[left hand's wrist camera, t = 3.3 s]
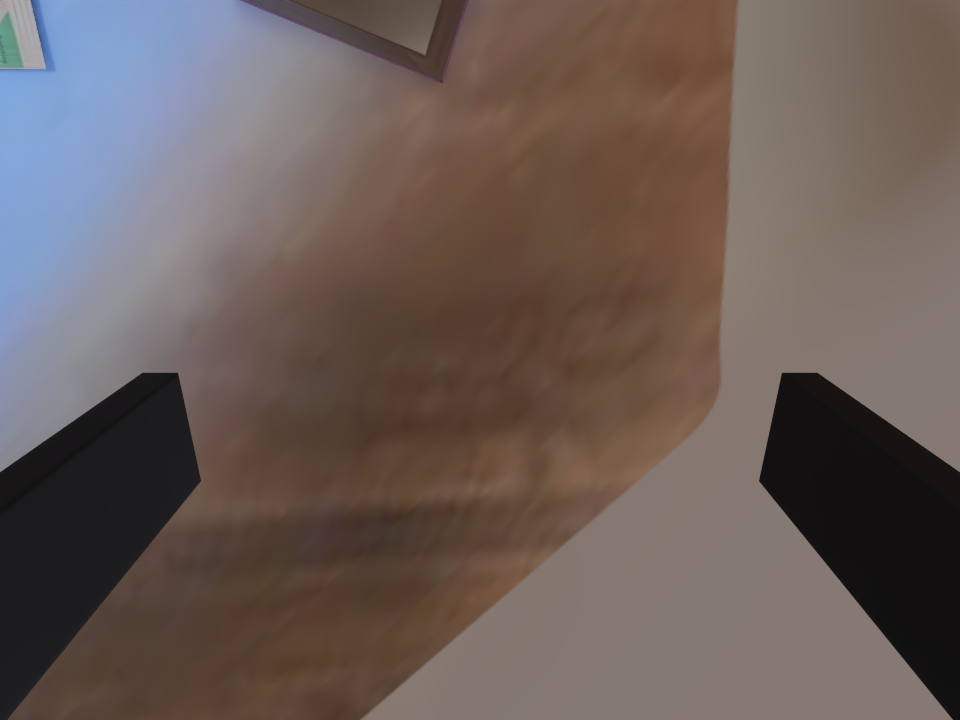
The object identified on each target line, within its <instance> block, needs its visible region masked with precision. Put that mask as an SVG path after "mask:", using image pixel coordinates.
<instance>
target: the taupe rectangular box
mask: <svg viewBox="0 0 960 720" xmlns="http://www.w3.org/2000/svg"><path fill="white" fill-rule="evenodd" d="M241 1H243V2H246V3H248V4H251V5H253V6H256V7H258V8H260V9H263V10H265V11H268V12H270V13H273V14H275V15H277V16H280V17H282V18H285V19H287V20H290V21H292V22H295V23H297V24H299V25H302V26H304V27H307V28H309V29H312V30H314V31H316V32H319V33H321V34H324V35H326V36H329V37H331V38H333V39H336V40H338V41H341V42H343V43H346V44H348V45H351V46H353V47H355V48H358V49H360V50H363V51H365V52H368V53H370V54H372V55H375V56H377V57H380V58H382V59H385V60H387V61H389V62H392V63H394V64H397V65H399V66H402V67H404V68H406V69H409V70H411V71H414V72H416V73H419V74H421V75H424V76H426V77H428V78H431V79H433V80H436V81H438V82H441V83H442V82H443V78H444V75H445V72H446V69H447V66H448V62H449V59H450V56H451V53H452V50H453V47H454V43H455V40H456V37H457V34H458V31H459V27H460V24H461V21H462V18H463V15H464V12H465V8H466V5H467V2H468V0H241Z"/></svg>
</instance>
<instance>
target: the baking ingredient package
mask: <svg viewBox="0 0 960 720" xmlns="http://www.w3.org/2000/svg"><path fill="white" fill-rule="evenodd" d="M0 69H46V65H45V61H44V57H43V53H42V49H41V43H40V39H39V34H38V30H37V26H36V21H35V17H34V13H33V8H32V4H31V0H0Z"/></svg>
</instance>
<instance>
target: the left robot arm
mask: <svg viewBox="0 0 960 720" xmlns="http://www.w3.org/2000/svg"><path fill="white" fill-rule="evenodd" d="M759 481H760V483H761V484H762V485H763V486H764V488H765V489H766V490H767V491H768V493H769V494H770V495H771V496H772V498H773V499H774V500H775V501H776V502H777V504H778V505H779V506H780V507H781V509H782V510H783V511H784V512H785V514H786V515H787V516H788V517H789V518H790V520H791V521H792V522H793V523H794V525H795V526H796V527H797V528H798V529H799V531H800V532H801V533H802V534H803V536H804V537H805V538H806V539H807V541H808V542H809V543H810V544H811V546H812V547H813V548H814V549H815V550H816V552H817V553H818V554H819V555H820V557H821V558H822V559H823V560H824V562H825V563H826V564H827V565H828V566H829V568H830V569H831V570H832V571H833V573H834V574H835V575H836V576H837V577H838V579H839V580H840V581H841V582H842V584H843V585H844V586H845V587H846V589H847V590H848V591H849V592H850V594H851V595H852V596H853V597H854V598H855V600H856V601H857V602H858V603H859V605H860V606H861V607H862V608H863V610H864V611H865V612H866V613H867V614H868V616H869V617H870V618H871V619H872V621H873V622H874V623H875V624H876V625H877V627H878V628H879V629H880V630H881V632H882V633H883V634H884V635H885V637H886V638H887V639H888V640H889V642H890V643H891V644H892V645H893V646H894V648H895V649H896V650H897V651H898V653H899V654H900V655H901V656H902V657H903V659H904V660H905V661H906V662H907V664H908V665H909V666H910V667H911V669H912V670H913V671H914V672H915V674H916V675H917V676H918V677H919V678H920V680H921V681H922V682H923V683H924V684H925V686H926V687H927V688H928V690H929V691H930V692H931V693H932V694H933V696H934V697H935V698H936V699H937V701H938V702H939V703H940V704H941V706H942V707H943V708H944V709H945V710H946V712H947V713H948V714H949V715H950V717H951V718H952V719H953V720H960V472H959V471H957V470H956V469H954V468H953V467H951V466H950V465H949V464H947V463H946V462H944V461H943V460H941V459H940V458H939V457H937V456H936V455H934V454H933V453H931V452H930V451H928V450H927V449H926V448H924V447H923V446H921V445H920V444H918V443H917V442H916V441H914V440H913V439H911V438H910V437H908V436H907V435H906V434H904V433H903V432H901V431H900V430H898V429H897V428H896V427H894V426H893V425H891V424H890V423H888V422H887V421H886V420H884V419H883V418H881V417H880V416H878V415H877V414H876V413H874V412H873V411H871V410H870V409H868V408H867V407H865V406H864V405H863V404H861V403H860V402H858V401H857V400H855V399H854V398H853V397H851V396H850V395H848V394H847V393H845V392H844V391H843V390H841V389H840V388H838V387H837V386H835V385H834V384H832V383H831V382H830V381H828V380H827V379H825V378H824V377H823V376H821V375H820V374H818V373H782V376H781V380H780V385H779V390H778V395H777V399H776V404H775V409H774V413H773V418H772V423H771V427H770V432H769V437H768V442H767V446H766V451H765V456H764V460H763V465H762V470H761V474H760V479H759ZM200 482H201V479H200V474H199V470H198V465H197V460H196V456H195V451H194V446H193V441H192V437H191V432H190V427H189V423H188V418H187V413H186V409H185V404H184V399H183V394H182V390H181V385H180V380H179V376H178V373H142V374H140V375H139V376H137V377H136V378H135V379H133V380H132V381H130V382H129V383H127V384H126V385H125V386H123V387H122V388H120V389H119V390H117V391H116V392H115V393H113V394H112V395H110V396H109V397H107V398H106V399H105V400H103V401H102V402H100V403H99V404H97V405H96V406H95V407H93V408H92V409H90V410H89V411H87V412H86V413H84V414H83V415H82V416H80V417H79V418H77V419H76V420H74V421H73V422H72V423H70V424H69V425H67V426H66V427H64V428H63V429H62V430H60V431H59V432H57V433H56V434H54V435H53V436H52V437H50V438H49V439H47V440H46V441H44V442H43V443H41V444H40V445H39V446H37V447H36V448H34V449H33V450H31V451H30V452H29V453H27V454H26V455H24V456H23V457H21V458H20V459H19V460H17V461H16V462H14V463H13V464H11V465H10V466H9V467H7V468H6V469H4V470H3V471H1V472H0V720H7V719H8V718H9V717H10V715H11V714H12V713H13V712H14V710H15V709H16V708H17V707H18V706H19V704H20V703H21V702H22V701H23V699H24V698H25V697H26V696H27V694H28V693H29V692H30V691H31V690H32V688H33V687H34V686H35V685H36V683H37V682H38V681H39V680H40V678H41V677H42V676H43V675H44V674H45V672H46V671H47V670H48V669H49V667H50V666H51V665H52V664H53V662H54V661H55V660H56V659H57V658H58V656H59V655H60V654H61V653H62V651H63V650H64V649H65V648H66V646H67V645H68V644H69V643H70V642H71V640H72V639H73V638H74V637H75V635H76V634H77V633H78V632H79V630H80V629H81V628H82V627H83V626H84V624H85V623H86V622H87V621H88V619H89V618H90V617H91V616H92V614H93V613H94V612H95V611H96V610H97V608H98V607H99V606H100V605H101V603H102V602H103V601H104V600H105V598H106V597H107V596H108V595H109V594H110V592H111V591H112V590H113V589H114V587H115V586H116V585H117V584H118V582H119V581H120V580H121V579H122V578H123V576H124V575H125V574H126V573H127V571H128V570H129V569H130V568H131V566H132V565H133V564H134V563H135V562H136V560H137V559H138V558H139V557H140V555H141V554H142V553H143V552H144V550H145V549H146V548H147V547H148V546H149V544H150V543H151V542H152V541H153V539H154V538H155V537H156V536H157V534H158V533H159V532H160V531H161V530H162V528H163V527H164V526H165V525H166V523H167V522H168V521H169V520H170V518H171V517H172V516H173V515H174V514H175V512H176V511H177V510H178V509H179V507H180V506H181V505H182V504H183V502H184V501H185V500H186V499H187V498H188V496H189V495H190V494H191V493H192V491H193V490H194V489H195V488H196V486H197V485H198V484H199V483H200Z"/></svg>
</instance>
